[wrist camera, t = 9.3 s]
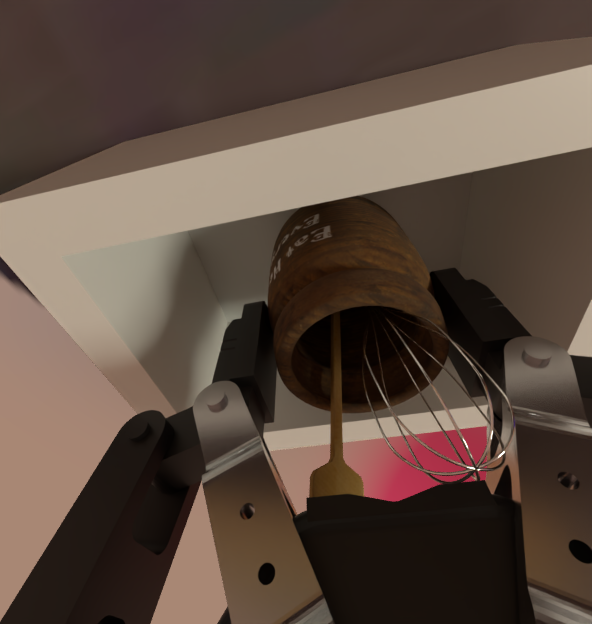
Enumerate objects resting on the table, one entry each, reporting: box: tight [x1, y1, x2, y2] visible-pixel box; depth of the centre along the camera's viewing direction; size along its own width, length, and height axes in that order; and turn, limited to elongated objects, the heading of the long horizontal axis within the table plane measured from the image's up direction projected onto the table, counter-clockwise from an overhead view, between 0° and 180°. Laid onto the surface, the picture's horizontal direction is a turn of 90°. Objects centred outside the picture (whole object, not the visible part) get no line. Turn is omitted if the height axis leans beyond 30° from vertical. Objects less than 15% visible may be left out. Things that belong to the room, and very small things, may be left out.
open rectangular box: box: [0, 37, 592, 451], centre depth 14 cm, size 12×17×9 cm
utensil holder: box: [267, 196, 515, 498], centre depth 10 cm, size 6×6×12 cm
